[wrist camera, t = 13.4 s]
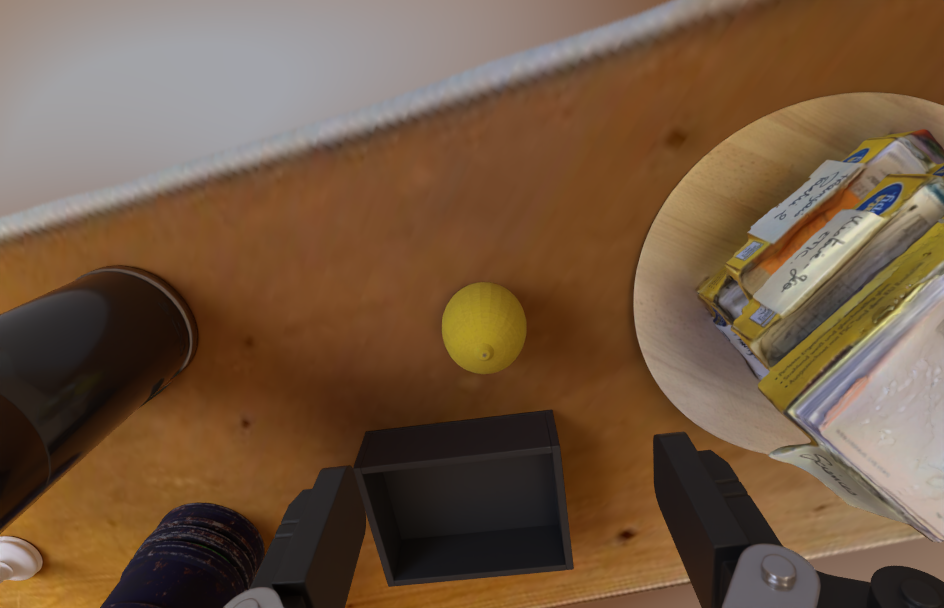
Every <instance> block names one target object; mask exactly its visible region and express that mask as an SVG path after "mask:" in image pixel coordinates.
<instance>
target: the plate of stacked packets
mask: <svg viewBox="0 0 944 608" xmlns="http://www.w3.org/2000/svg"><path fill="white" fill-rule="evenodd" d="M895 298H897V299H895ZM634 319H635V327H636V332H637V337H638V341H639V345H640V348H641V351H642V354H643V357H644V359H645V361H646V364H647V366H648V368H649V370H650V372H651V374H652V376H653V377H654V379H655V381H656V382H657V384H658V385H659V387H660V388H661V390H662V391H663V392H664V394H665V395H666V396H667V397H668V399H669V400H670V401H671V402H672V403H673V404H674V405H675V406H676V407H677V408H678V409H679V410H680V411H681V412H682V413H683V414H684V415H685V416H687V417H688V418H689V419H690V420H692V421H693V422H694V423H695V424H697V425H698V426H700V427H701V428H703V429H704V430H706V431H707V432H709V433H711V434H713V435H715V436H716V437H718V438H720V439H723V440H725V441H727V442H729V443H732V444H734V445H737V446H740V447H742V448H745V449H749V450H752V451H755V452H760V453H764V454H769V457H770V458H773V459H776V460H778V461H782V462H785V463H790V464H793V465H795V466H797V467H800V468H802V469H803V470H805V471H807V472H809V473H810V474H812V475H813V476H815V477H816V478H818V479H819V480H820V481H821V482H822V483H824V484H825V485H826V486H827V487H828V488H830V489H831V490H832V491H833V492H834V493H835V494H836V495H838V496H839V497H841V498H842V499H843V500H844V501H845V502H846V503H847V504H848V505H850V506H852V507H855V508H859V509H863V510H866V511H869V512H871V513H874V514H877V515H880V516H883V517H887V518H890V519H893V520H896V521H900V522H902V523H905V524H908V525H910V526H912V527H913V528H914V529H916V530H917V531H918V532H920V533H921V534H922V535H924V536H925V537H927V538H928V539H929V540H931V541H934V542H943V541H944V106H942V105H939V104H937V103H933V102H930V101H927V100H923V99H919V98H915V97H910V96H905V95H898V94H889V93H848V94H839V95H832V96H826V97H821V98H816V99H812V100H808V101H805V102H801V103H798V104H795V105H792V106H789V107H786V108H783V109H781V110H778V111H776V112H774V113H771V114H769V115H767V116H765V117H763V118H761V119H759V120H757V121H755V122H753V123H751V124H749V125H747V126H746V127H744V128H742V129H741V130H739V131H737V132H736V133H734V134H733V135H731V136H730V137H728V138H727V139H726V140H724V141H723V142H721V143H720V144H719V145H718V146H716V147H715V148H714V149H713V150H711V151H710V152H709V153H708V154H707V155H706V156H704V157H703V158H702V159H701V160H700V161H699V162H698V163H697V164H696V165H695V166H694V167H693V168H692V169H691V170H690V171H689V172H688V173H687V174H686V176H685V177H684V178H683V179H682V180H681V181H680V182H679V184H678V185H677V186H676V188H675V189H674V190H673V191H672V193H671V194H670V196H669V197H668V199H667V200H666V201H665V203H664V205H663V206H662V208H661V210H660V211H659V213H658V215H657V217H656V218H655V220H654V222H653V224H652V226H651V228H650V231H649V233H648V235H647V238H646V240H645V243H644V246H643V249H642V252H641V255H640V259H639V263H638V267H637V272H636V278H635V286H634Z"/></svg>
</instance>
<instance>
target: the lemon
mask: <svg viewBox="0 0 944 608" xmlns="http://www.w3.org/2000/svg"><path fill="white" fill-rule="evenodd" d="M442 336H443V340H444V345H445V347H446V349H447V351H448V353H449V355H450V356H451V358H452V359H453V360H454V361H455V362H456V363H457V364H458V365H459V366H461V367H462V368H464V369H465V370H468V371H470V372H473V373H479V374H491V373H495V372H498V371H501V370H503V369H504V368H506V367H508V366H509V365H510V364H511V363H512V362H513V361H514V360H515V359H516V358H517V356H518V355H519V353H520V351H521V350H522V348H523V345H524V341H525V337H526V317H525V314H524V311H523V308H522V306H521V304H520V303H519V301H518V299H517V298H516V297H515V296H514V295H513V294H512V293H511V292H510V291H509V290H508V289H506V288H504V287H502V286H501V285H498V284H494V283H491V282H478V283H474V284H470V285H468V286H466V287H464V288H462V289H461V290H460V291H458V292H457V293H456V294H455V295H454V296H453V297H452V298H451V300H450V301H449V303H448V304H447V306H446V309H445V312H444V314H443V318H442Z"/></svg>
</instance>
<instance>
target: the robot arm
mask: <svg viewBox="0 0 944 608" xmlns="http://www.w3.org/2000/svg"><path fill="white" fill-rule="evenodd" d="M197 340H198V338H197V328H196V323H195V320H194V317H193V315H192V313H191V311H190V309H189V307H188V306H187V304H186V303H185V301H184V300H183V299H182V297H181V296H180V295H179V294H178V293H177V292H176V291H175V290H174V289H173V288H172V287H171V286H170V285H168V284H167V283H166V282H164V281H163V280H161V279H160V278H158V277H156V276H155V275H153V274H151V273H148V272H146V271H143V270H141V269H137V268H133V267H128V266H106V267H102V268H99V269H96V270H93V271H91V272H89V273H87V274H85V275H82V276H81V277H79V278H78V279H76V280H75V281H73V282H71V283H69V284H67V285H64V286H62V287H60V288H58V289H55V290H53V291H51V292H48V293H46V294H44V295H42V296H40V297H38V298H35V299H33V300H31V301H29V302H27V303H24V304H22V305H20V306H18V307H16V308H14V309H11V310H9V311H7V312H5V313H3V314H0V534H1V533H2V532H3V531H4V530H5V529H6V528H7V527H8V526H9V525H11V524H12V523H13V522H14V521H15V520H16V519H17V518H18V517H19V516H20V515H22V514H23V513H24V512H25V511H26V510H27V509H28V508H29V507H30V506H31V505H33V504H34V503H35V502H36V501H37V500H38V499H39V498H40V497H41V496H42V495H43V494H44V493H45V492H46V491H48V490H49V489H50V488H51V487H52V486H53V485H54V484H55V483H56V482H57V481H59V480H60V479H61V478H62V477H63V476H64V475H65V474H66V473H67V472H68V471H70V470H71V469H72V468H73V467H74V466H75V465H76V464H77V463H78V462H79V461H81V460H82V459H83V458H84V457H85V456H86V455H87V454H88V453H89V452H91V451H92V450H93V449H94V448H95V447H96V446H97V445H98V444H99V443H100V442H102V441H103V440H104V439H105V438H106V437H107V436H108V435H109V434H110V433H111V432H113V431H114V430H115V429H116V428H117V427H118V426H119V425H120V424H121V423H122V422H124V421H125V420H126V419H127V418H128V417H129V416H130V415H131V414H132V413H133V412H135V411H136V410H137V409H138V408H140V407H141V406H142V405H144V404H145V403H146V402H148V401H149V400H150V399H152V398H153V397H154V396H156V395H157V394H158V393H160V392H161V391H162V390H163V389H164V388H166V387H167V386H168V385H169V384H170V383H171V382H170V383H169V384H168V385H166V386H165V387H164V388H162V389H161V390H160V391H158V390H159V389H160V388H161V387H162V386H163V385H164V384H166V383H167V382H168V381H169V380H170V379H172V378H173V377H175V376H176V375H177V374H179V373H180V372H181V371H182V370H183V369H184V368H185V367H186V366H187V365H188V364H189V363H190V361H191V360H192V358H193V356H194V354H195V351H196V347H197ZM157 391H158V392H157ZM156 392H157V393H156ZM155 393H156V394H155ZM152 395H153V396H152ZM151 396H152V397H151ZM653 454H654V487H655V493H656V498H657V501H658V504H659V507H660V510H661V512H662V514H663V517H664V519H665V522H666V524H667V526H668V529H669V531H670V533H671V536H672V538H673V541H674V543H675V545H676V548H677V550H678V552H679V555H680V557H681V559H682V562H683V564H684V567H685V569H686V571H687V574H688V576H689V578H690V581H691V583H692V586H693V588H694V590H695V592H696V595H697V597H698V599H699V602H700V605H701V607H702V608H944V582H943V581H941V580H939V579H938V578H936V577H934V576H932V575H930V574H928V573H925V572H922V571H920V570H917V569H913V568H910V567H904V566H887V567H883V568H881V569H879V570H877V571H876V572H875V573H874V574H873V576H872V578H871V583H869V582H865V581H859V580H854V579H848V578H843V577H837V576H832V575H828V574H824V573H822V572H819V571H816V570H815V569H814V567H813V566H812V565H811V564H810V563H809V562H808V561H807V560H806V559H805V558H803V557H802V556H800V555H799V554H798V553H796V552H794V551H792V550H790V549H788V548H785V547H783V545H782V544H781V543H780V541H779V540H778V538H777V537H776V535H775V533H774V532H773V530H772V529H771V527H770V526H769V524H768V523H767V521H766V520H765V518H764V517H763V515H762V514H761V512H760V511H759V509H758V508H757V506H756V505H755V503H754V502H753V500H752V498H751V497H750V495H748V494H747V491H746V489H745V488H744V486H743V485H742V483H741V482H739V479H738V477H737V476H736V474H735V473H734V471H733V470H732V468H731V467H730V465H729V464H728V462H726V461H725V460H724V459H722V458H721V457H719V456H718V455H717V454H715V453H714V452H713V451H711V450H704V451H697V450H696V448H695V447H694V445H693V443H692V442H691V440H690V438H689V437H688V435H687V434H686V433H685V432H676V433H666V434H657V435H654V439H653ZM365 529H366V513H365V508H364V504H363V501H362V497H361V494H360V490H359V487H358V483H357V480H356V476H355V473H354V470H353V468H352V467H351V466H350V465H349V466H339V467H329V468H323V469H322V470H321V471H320V473H319V475H318V477H317V480H316V482H315V484H314V487H313V489H307V490H303V491H302V492H301V493H300V494H299V495H298V496H297V497H296V498H295V499H294V500H293V501H292V502H291V504H290V505H289V506H288V508H287V511H286V513H285V515H284V517H283V519H282V521H281V525H279V527H278V530H277V532H276V534H275V539H273V540H272V542H271V544H270V546H269V549H268V551H267V553H266V555H265V557H264V559H263V561H262V563H261V565H260V568H259V570H258V572H257V574H256V576H255V578H254V580H253V582H252V584H251V587H250V589H249V590H247V591H244V592H243V593H241V594H239V595H237V596H236V597H234V598H233V599H232V600H231V601H229V602H228V603H227V604H226V605H225V606H224V607H223V608H345V605H346V601H347V597H348V594H349V590H350V586H351V583H352V579H353V575H354V572H355V568H356V564H357V561H358V557H359V553H360V549H361V546H362V542H363V538H364V535H365Z"/></svg>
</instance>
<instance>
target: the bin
mask: <svg viewBox="0 0 944 608" xmlns="http://www.w3.org/2000/svg"><path fill="white" fill-rule="evenodd" d="M353 470H354V473H355V476H356V480H357V483H358V487H359V490H360V494H361V497H362V501H363V504H364V508H365V511H366V514H367V518H368V521H369V524H370V527H371V531H372V534H373V537H374V541H375V544H376V547H377V550H378V554H379V557H380V560H381V564H382V567H383V570H384V573H385V577H386V580H387V583H388V586H389V587H390V586H401V585H412V584H423V583H433V582H444V581H455V580H466V579H476V578H487V577H498V576H509V575H519V574H530V573H541V572H552V571H562V570H572V569H574V567H573V558H572V549H571V540H570V531H569V522H568V513H567V505H566V496H565V487H564V478H563V469H562V460H561V451H560V444H559V439H558V435H557V430H556V425H555V420H554V416H553V411H552V410H545V411H537V412H528V413H520V414H512V415H503V416H495V417H486V418H478V419H469V420H461V421H452V422H444V423H435V424H427V425H419V426H410V427H402V428H393V429H385V430H376V431H368V432H365V436H364V438H363V441H362V444H361V447H360V450H359V453H358V456H357V458H356V461H355V464H354V467H353Z"/></svg>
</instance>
